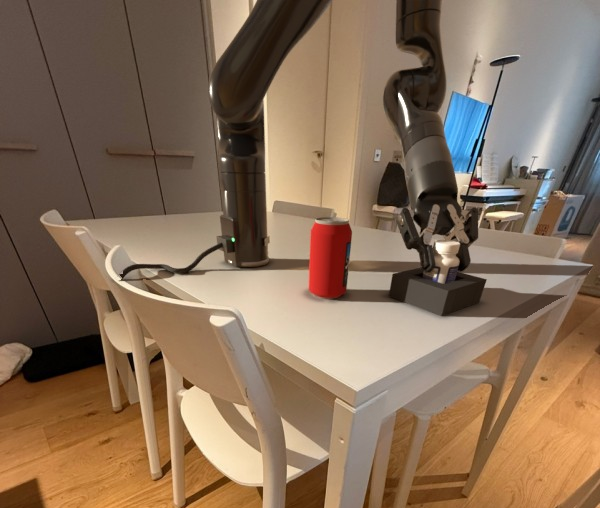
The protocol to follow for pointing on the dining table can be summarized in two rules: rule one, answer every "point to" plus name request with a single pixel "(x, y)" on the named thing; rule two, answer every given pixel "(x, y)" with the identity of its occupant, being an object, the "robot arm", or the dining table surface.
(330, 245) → the beverage can
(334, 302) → the dining table surface
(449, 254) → the pill bottle
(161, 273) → the dining table surface
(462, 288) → the socket pad
